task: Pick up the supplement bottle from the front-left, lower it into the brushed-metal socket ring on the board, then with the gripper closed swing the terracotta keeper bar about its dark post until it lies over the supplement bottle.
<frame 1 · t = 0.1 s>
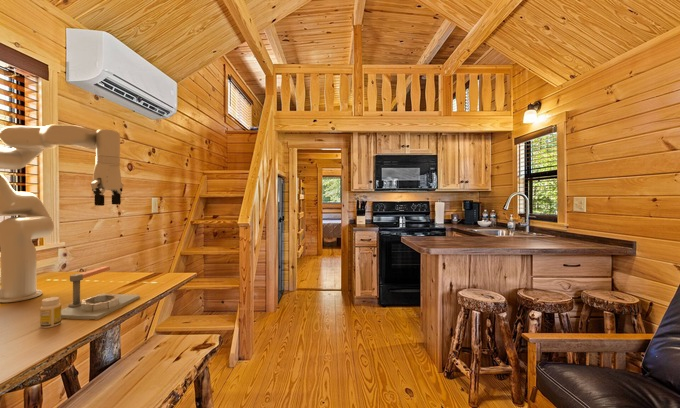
hand: (108, 204, 120), 37 cm above the table, tool pointing down, fingers open, 9 cm apart
keeper: (90, 273, 115), point 11 cm above the table, hinge at 0.0°
board: (98, 307, 111), on the table
socket: (100, 309, 109), resting on board
supplement bottle: (50, 325, 96), on the table
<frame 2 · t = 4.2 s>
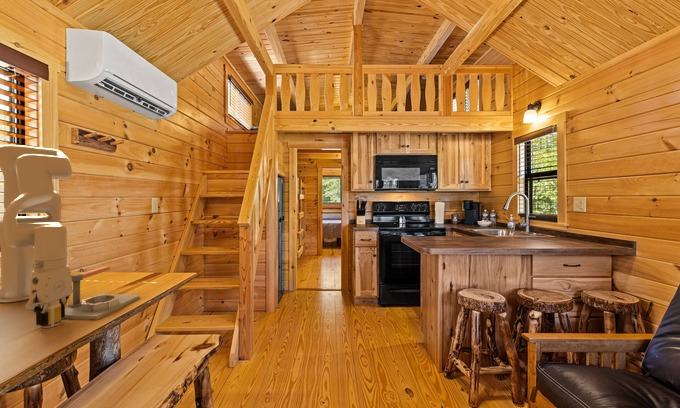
hand: (50, 320, 96), 1 cm above the table, tool pointing down, fingers closed on supplement bottle, 4 cm apart
supplement bottle: (50, 325, 96), on the table, touching gripper
everything else where it was.
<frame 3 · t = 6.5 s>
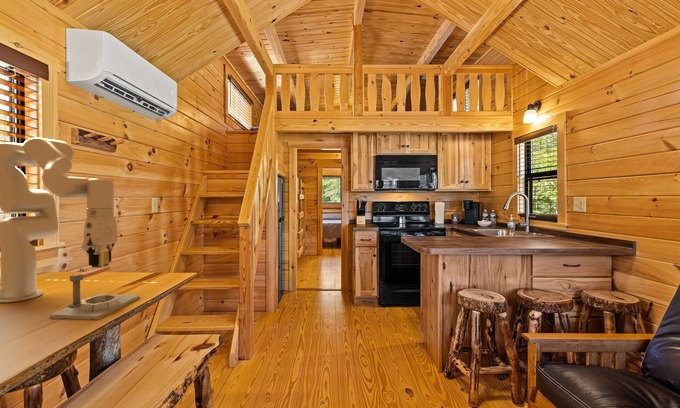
hand: (100, 263, 109), 17 cm above the table, tool pointing down, fingers closed on supplement bottle, 4 cm apart
supplement bottle: (100, 267, 109), point 15 cm above the table, touching gripper
everything else where it was.
when the fingers open (4 cm above the table, at t = 9.2 s): supplement bottle stays where it is, resting on board.
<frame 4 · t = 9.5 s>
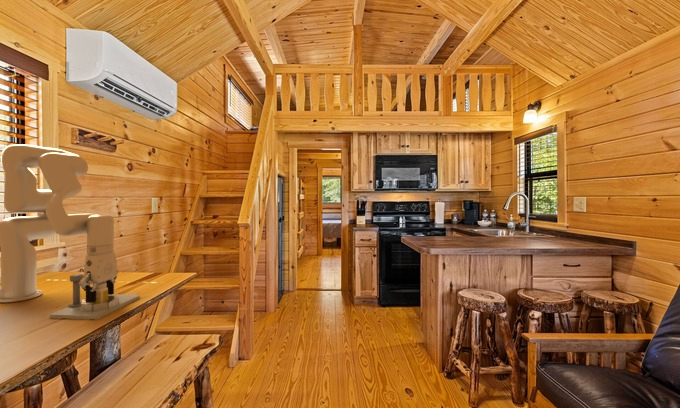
hand: (100, 297, 109), 4 cm above the table, tool pointing down, fingers open, 7 cm apart
supplement bottle: (99, 306, 109), point 1 cm above the table, touching board
everything else where it was.
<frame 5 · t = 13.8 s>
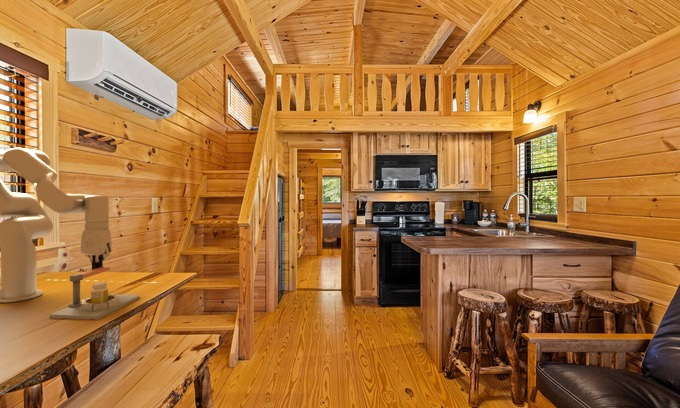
hand: (97, 271, 122), 10 cm above the table, tool pointing down, fingers closed
keeper: (90, 273, 115), point 11 cm above the table, hinge at 0.0°, touching gripper
everything else where it was.
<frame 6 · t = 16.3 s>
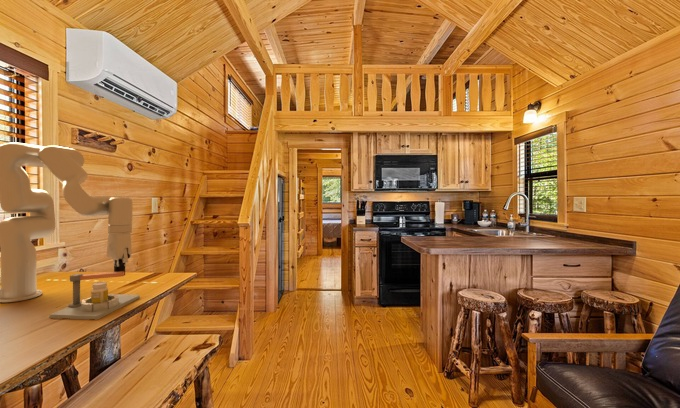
hand: (119, 275, 118), 10 cm above the table, tool pointing down, fingers closed
keeper: (97, 275, 112), point 11 cm above the table, hinge at 59.7°, touching gripper
everything else where it was.
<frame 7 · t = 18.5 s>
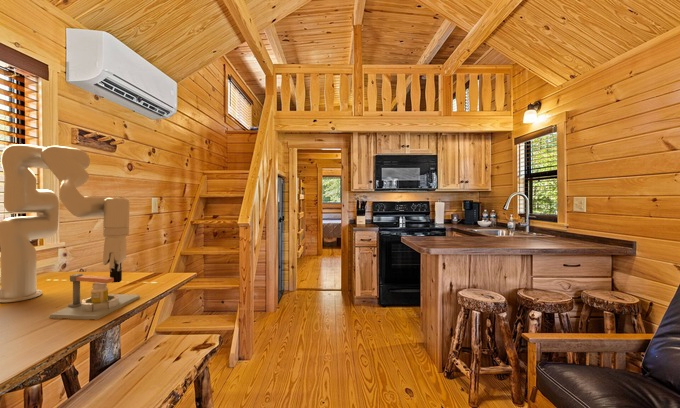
hand: (115, 281, 110), 10 cm above the table, tool pointing down, fingers closed
keeper: (91, 278, 108), point 11 cm above the table, hinge at 97.3°, touching gripper
everything else where it was.
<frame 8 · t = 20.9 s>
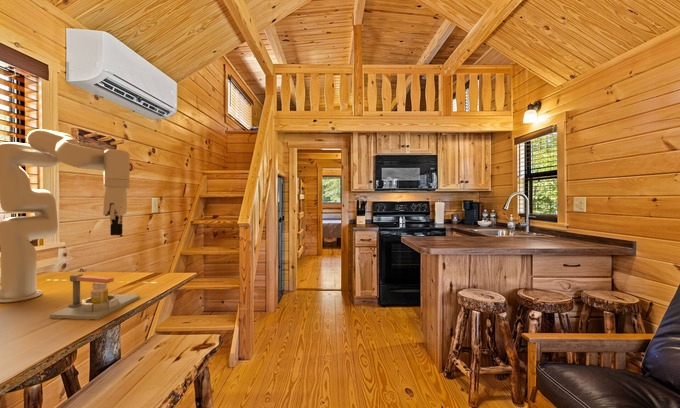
hand: (116, 234, 110), 27 cm above the table, tool pointing down, fingers closed
keeper: (91, 278, 108), point 11 cm above the table, hinge at 97.5°
everything else where it was.
at the end: supplement bottle 0.2 cm from the socket (horizontally); supplement bottle tilted 0°; keeper at +98° (first picture: +0°) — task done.
